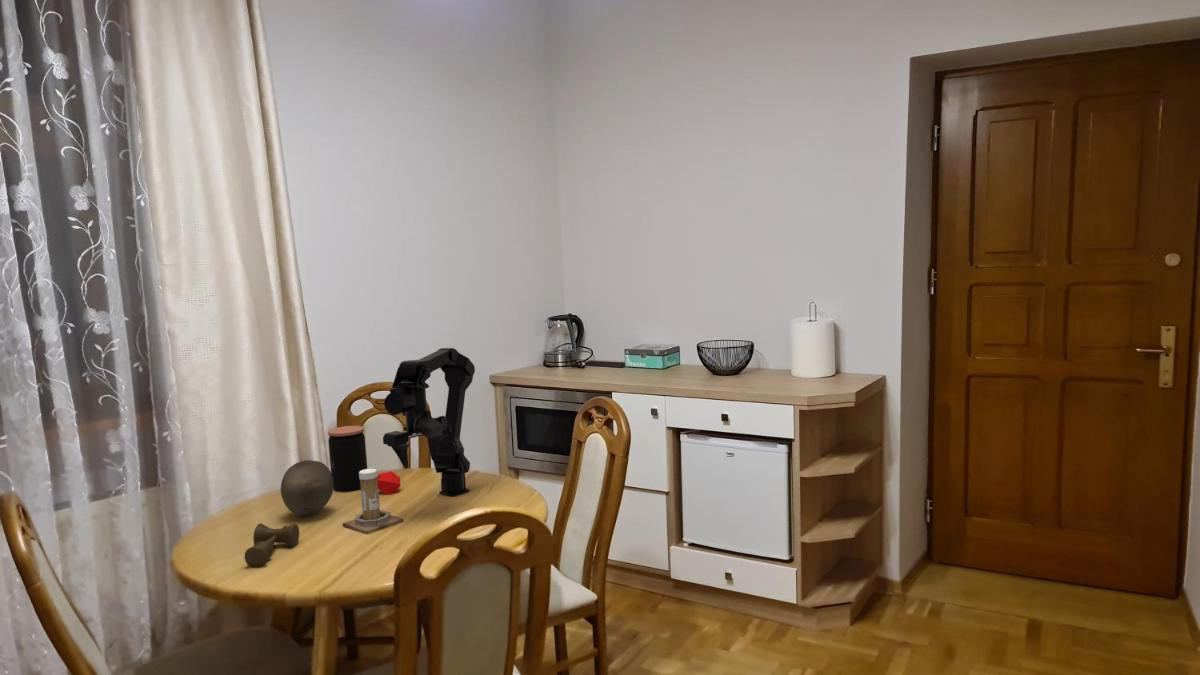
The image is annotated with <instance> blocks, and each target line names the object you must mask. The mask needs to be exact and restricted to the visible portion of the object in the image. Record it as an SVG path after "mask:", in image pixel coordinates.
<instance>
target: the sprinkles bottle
mask: <svg viewBox="0 0 1200 675" xmlns="http://www.w3.org/2000/svg"><path fill="white" fill-rule="evenodd" d="M378 475H379V474H378V470H377V469H375V468H367V469H364V470H361V471H360V472H359V479H360V484H361V489H360V497H361V508H362V509H361V510H362V513H363V520H375V519H378V518H381V517H380V496H379V489H378V484H377V477H378Z"/></svg>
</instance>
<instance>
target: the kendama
mask: <svg viewBox="0 0 1200 675" xmlns="http://www.w3.org/2000/svg"><path fill="white" fill-rule="evenodd" d="M299 540H300V527H299V524H298V523H296V522H294V523H291V524H290V525H283V527H281V528H271V527H269V526H267V525H265V524H263V523H258V524H256V527H255V529H254V531H253V546H250V547H248V548H247V549H246V551H245V552H244V562H245V563H246V564H247V566H249V567H251V568H261V567H263V566H265V565H266V563H267V562H268V559H269V558H270V557H272V555H273V551H274V550H273V546H274V545H275V544H277V543H280V544H285V545H287V546H289V547H291V548H292V547H293V548H294V547H296V546H297V544H298V542H299Z"/></svg>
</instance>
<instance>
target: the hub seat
mask: <svg viewBox="0 0 1200 675" xmlns="http://www.w3.org/2000/svg"><path fill="white" fill-rule="evenodd" d="M380 517H381V518H378V519H375V520H363V512H361V513H359V514H356V517H355V518H354V519H351V520H349V521H346V522H343V523H342V527H343V528H346V529H349V528H350V529H349V530H352V531H357V532H359V533H363V534H364V535H365V534H366V535H370V534H372V533H375V532H378V531H381V530H383V529H386V528H389V527H393V526H395V525H398V524H401V523H403V522H405V521H404V518H402V517H399V516H395V515H392V514H391V512H390V511H387V510H380Z"/></svg>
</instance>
